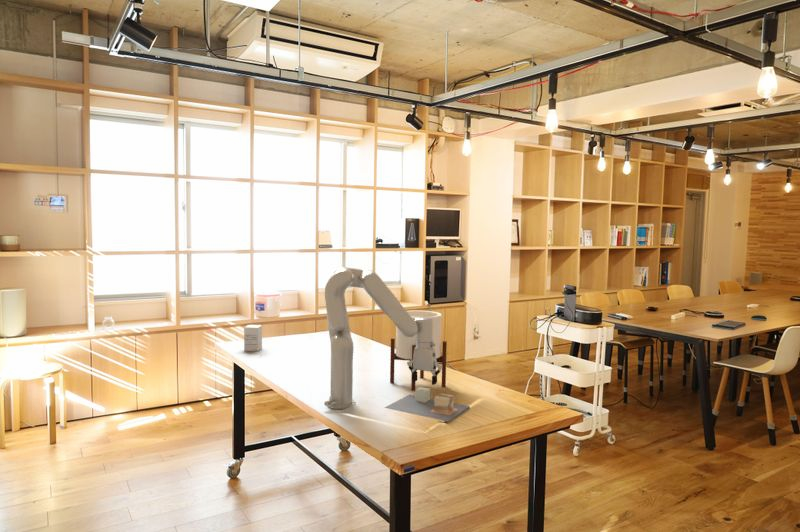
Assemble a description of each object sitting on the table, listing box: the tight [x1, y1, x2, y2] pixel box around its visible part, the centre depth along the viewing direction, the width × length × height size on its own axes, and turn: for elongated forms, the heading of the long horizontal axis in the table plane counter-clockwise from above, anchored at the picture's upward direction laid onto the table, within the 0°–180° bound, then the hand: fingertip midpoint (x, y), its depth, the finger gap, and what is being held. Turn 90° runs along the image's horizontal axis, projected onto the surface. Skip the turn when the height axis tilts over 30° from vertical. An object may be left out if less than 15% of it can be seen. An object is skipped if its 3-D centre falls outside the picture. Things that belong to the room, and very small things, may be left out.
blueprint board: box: [384, 394, 471, 424], centre depth 235 cm, size 22×30×1 cm
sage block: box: [414, 386, 431, 403], centre depth 244 cm, size 5×5×5 cm
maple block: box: [434, 392, 455, 413], centre depth 231 cm, size 6×6×6 cm
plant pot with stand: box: [389, 309, 448, 392], centre depth 270 cm, size 22×22×36 cm
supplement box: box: [243, 324, 263, 352], centre depth 342 cm, size 9×9×15 cm
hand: (424, 382), depth 244 cm, fingers open, 9 cm apart
